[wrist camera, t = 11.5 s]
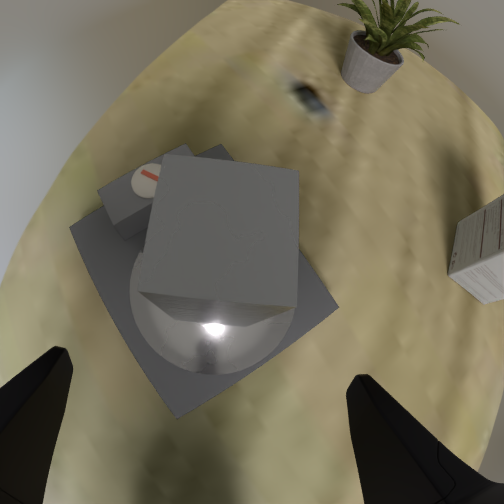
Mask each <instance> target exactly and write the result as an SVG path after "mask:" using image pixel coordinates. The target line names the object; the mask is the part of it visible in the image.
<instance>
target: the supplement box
mask: <svg viewBox="0 0 504 504" xmlns="http://www.w3.org/2000/svg"><path fill="white" fill-rule="evenodd" d="M448 276H449V277H450V278H452V279H453V280H454V281H456V282H457V283H458V284H459V285H461V286H462V287H463V288H465V289H466V290H467V291H468V292H470V293H471V294H472V295H473V296H474V297H476V298H477V299H478V300H479V301H480V302H482V303H483V304H487V303H491V302H495V301H499V300H502V299H504V194H503V195H501V196H500V197H498V198H497V199H495V200H494V201H492V202H490V203H489V204H487V205H485V206H484V207H482V208H480V209H479V210H477V211H476V212H474V213H472V214H471V215H469V216H467V217H466V218H464V219H462V220H461V221H459V222H458V224H457V229H456V235H455V240H454V246H453V251H452V256H451V261H450V266H449V270H448Z"/></svg>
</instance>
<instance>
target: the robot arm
mask: <svg viewBox="0 0 504 504" xmlns="http://www.w3.org/2000/svg"><path fill="white" fill-rule="evenodd" d="M72 374H73V365H72V362H71V359H70V356H69V353H68V351H67V349H66V348H63V347H59V346H54V347H52V348H51V349H50V350H48V351H47V352H46V353H44V354H43V355H42V356H40V357H39V358H38V359H37V360H35V361H34V362H33V363H31V364H30V365H29V366H27V367H26V368H25V369H24V370H22V371H21V372H20V373H19V374H17V375H16V376H15V377H13V378H12V379H11V380H10V381H8V382H7V383H6V384H5V385H3V386H2V387H1V388H0V504H43V499H44V493H45V488H46V483H47V478H48V474H49V469H50V465H51V461H52V456H53V452H54V449H55V445H56V441H57V437H58V434H59V430H60V427H61V423H62V420H63V416H64V413H65V408H66V403H67V398H68V393H69V388H70V383H71V379H72ZM346 399H347V408H348V417H349V427H350V435H351V440H352V445H353V449H354V454H355V459H356V463H357V468H358V473H359V478H360V483H361V488H362V493H363V499H364V504H504V484H503V483H496V482H493V481H490V480H488V479H486V478H485V477H483V476H482V475H481V474H479V473H478V472H476V471H475V470H474V469H472V468H471V467H470V466H468V465H467V464H466V463H464V462H463V461H462V460H461V459H459V458H458V457H457V456H455V455H454V454H453V453H452V452H451V451H450V450H449V449H447V448H446V447H445V446H444V445H443V444H442V443H441V442H440V441H438V439H437V438H436V437H434V436H433V435H432V434H431V433H430V432H429V431H428V430H427V429H426V428H425V427H424V426H423V425H422V424H421V423H420V422H418V421H417V420H416V419H415V418H414V417H413V416H412V415H411V414H410V413H409V412H408V411H407V410H406V409H405V408H404V407H403V406H402V405H400V404H399V403H398V402H397V401H396V400H395V399H394V398H393V397H392V396H391V395H390V394H389V393H388V392H387V391H386V390H385V389H384V388H382V387H381V386H380V385H379V384H378V383H377V382H376V381H375V380H374V379H373V378H372V377H371V376H370V375H368V374H359V375H356V376H355V377H354V379H353V381H352V382H351V384H350V386H349V387H348V389H347V392H346Z"/></svg>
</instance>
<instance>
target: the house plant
mask: <svg viewBox="0 0 504 504" xmlns="http://www.w3.org/2000/svg"><path fill="white" fill-rule="evenodd" d="M372 1H373V0H372ZM390 1H391V7H390V6H389V5H388V1H387V0H382V3H383V4H382V5H381V0H379V5H380V25H379V22H378V25H379V28H378V27H377V25H376V22H375V20H374V18H373V16H372V13H371V11H370V10H369V9H368V7H367V6H366V4H365V3H364V2H363V1H362V0H352V2H353V3H354V4H355V5H353V4H346V3H342V4H338V5H342V6H346V7H349V8H351V9H353V10H354V11H356V12H358V14H359V15H360V16H361V18H362V19H359V20H361V21H362V22H364V25H365V27H366V31H361V30H357V31H354V32H352V33H351V36H350V40H349V44H348V48H347V52H346V56H345V59H344V63H343V67H342V71H341V75H342V78H343V79H344V81H345V82H346V83H347V84H348V85H349V86H351V87H352V88H354V89H355V90H357V91H360V92H363V93H373V92H375V91H376V90H377V89H378V88H379V87H380V86H381V85H382V84H384V83H385V82H386V81H387V80H388V79H389V78H390V77H391V76H392V75H393V74H394V73H395V72H396V71H397V70H398V69H399V68H400V67H401V66H402V65H403V63H404V60H403V57H402V55H401V53H400V52H399V51H398V50H397V49H401V48H410V49H413V50H415V49H418V50H422V48H421V47H420V46H419V45H418V44H416V43H414V42H421V43H425V41H424V40H423V39H422V38H421V37H420V36H419V35H417V33H422V32H429V31H435V30H439V29H435V30H429V31H422V32H417V33H414V34H409V33H411V32H412V31H416V30H419V29H421V28H428V27H426V26H429V25H433V24H437V23H441V22H448V21H449V22H454V23H456V24H459V23H457V22H455V21H454V20H452V19H449V18H446V17H428V18H425V19H422V20H420V21H419V22H417V23H415V24H413V25H408V26H404V25H405V23H406V21H407V20H409V19H410V18H412V17H413V16H415V15H416V14H418V13H420V12H424V11H431V10H432V11H436V12H438V11H437V10H434V9H423V10H420V11H417V12H416V13H414V14H413V12H414V11H415V10H416V9H417V7H418V4H419V3H418V2H416V3H414V4H413V6H412V7H411V8H410V9H409V10H408V11H407V12H406V10H407V8H408V6H409V4H410V2H411V0H398V1H397V5H396V8H395V10H394V0H390ZM373 3H374V1H373ZM374 6H375V3H374ZM375 9H376V8H375ZM405 12H406V14H405ZM439 13H440V12H439ZM376 14H377V11H376ZM404 14H405V16H404ZM412 14H413V15H412ZM403 16H404V18H403ZM402 18H403V19H402ZM377 19H378V17H377ZM401 20H402V21H401ZM400 21H401V22H400ZM399 22H400V24H399V25H398V27H396V25H397V24H398V23H399ZM395 27H396V28H395ZM394 28H395V29H394ZM393 32H394V33H393ZM392 33H393V34H392ZM391 34H392V35H391ZM425 44H427V43H425ZM427 45H428V44H427ZM428 47H429V46H428ZM415 51H416V52H418V53H419V54H420V55H421V57H422V59H423V61H424V58H425V57H424V55H423V54H422V53H420V52H419V51H417V50H415Z"/></svg>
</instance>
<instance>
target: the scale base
mask: <svg viewBox="0 0 504 504" xmlns="http://www.w3.org/2000/svg"><path fill="white" fill-rule="evenodd" d="M165 154H169V155H181V156H192V157H202V158H212V159H221V160H229V161H234V160H233V158H232V157H231V156H230V155H229V153H228V152H227V151H226V149H225V148H224V147H223V145H222V144H220V145H218V146H215V147H213V148H211V149H209V150H207V151H205V152H203V153H200V154H198V155H196V156H194V154H193V153H192V152H191V150H190V149H189V147H188V146H187V144H183V145H181V146H179V147H177V148H175V149H173V150H171V151H169V152H167V153H165ZM163 157H164V154H163V155H161V156H159V157H157V158H155V159H153V160H151V161H149V162H147V163H145V164H143V165H142V166H140V167H138V168H136V169H134V170H132V171H130V172H129V173H127V174H125V175H123V176H121V177H120V178H118V179H116V180H114V181H113V182H111V183H109V184H107V185H106V186H104V187H102V188H101V189H99V190H97V191H98V194H99V196H100V198H101V200H102V202H103V204H104V206H102V207H100V208H99V209H97V210H96V211H94V212H92V213H91V214H89V215H88V216H86V217H84V218H83V219H81V220H80V221H78V222H77V223H75V224H73V225H72V226H70V227H69V228H70V230H71V233H72V235H73V238H74V240H75V243H76V245H77V247H78V250H79V252H80V254H81V256H82V259H83V261H84V263H85V265H86V268H87V270H88V272H89V274H90V276H91V278H92V280H93V282H94V284H95V286H96V288H97V290H98V292H99V294H100V296H101V298H102V300H103V302H104V304H105V306H106V308H107V310H108V312H109V314H110V316H111V317H112V319H113V321H114V323H115V325H116V326H117V328H118V330H119V332H120V333H121V335H122V337H123V339H124V340H125V342H126V344H127V345H128V347H129V349H130V350H131V352H132V354H133V355H134V357H135V359H136V360H137V362H138V363H139V365H140V367H141V368H142V370H143V371H144V373H145V374H146V376H147V377H148V379H149V381H150V382H151V384H152V385H153V386H154V388H155V389H156V391H157V392H158V394H159V395H160V397H161V398H162V400H163V401H164V402H165V404H166V405H167V407H168V408H169V409H170V411H171V412H172V413H173V415H174V416H175V417H176V419H178V418H180V417H181V416H183V415H185V414H187V413H188V412H190V411H192V410H193V409H195V408H197V407H198V406H200V405H202V404H203V403H205V402H206V401H208V400H210V399H211V398H213V397H215V396H216V395H218V394H219V393H221V392H222V391H224V390H226V389H227V388H229V387H230V386H232V385H233V384H235V383H236V382H238V381H239V380H241V379H242V378H244V377H245V376H247V375H248V374H250V373H251V372H253V371H254V370H256V369H257V368H259V367H260V366H262V365H263V364H264V363H266V362H267V361H269V360H270V359H272V358H273V357H274V356H276V355H277V354H279V353H280V352H281V351H283V350H284V349H285V348H287V347H288V346H290V345H291V344H292V343H294V342H295V341H296V340H298V339H299V338H300V337H302V336H303V335H304V334H306V333H307V332H308V331H310V330H311V329H312V328H314V327H315V326H316V325H317V324H319V323H320V322H321V321H323V320H324V319H325V318H326V317H328V316H329V315H330V314H331V313H333V312H334V311H335V310H336V309H338V308H339V306H338V305H337V303H336V302H335V300H334V299H333V297H332V296H331V294H330V293H329V291H328V290H327V289H326V287H325V286H324V284H323V283H322V281H321V280H320V278H319V277H318V275H317V274H316V273H315V271H314V270H313V268H312V267H311V265H310V264H309V263H308V261H307V260H306V258H305V257H304V255H303V254H302V253H301V251H300V250H299V252H298V289H297V307H296V308H295V311H294V315H293V319H292V321H291V324H290V327H289V328H288V330H287V332H286V334H285V336H284V337H283V339H282V340H281V342H280V343H279V344H278V346H277V347H276V348H275V349H274V350H273V351H272V352H271V353H270V354H269V355H267V356H266V357H265V358H264V359H262V360H261V361H259V362H258V363H256V364H254V365H252V366H250V367H248V368H246V369H243V370H241V371H237V372H233V373H228V374H220V375H207V374H200V373H195V372H191V371H188V370H185V369H182V368H180V367H178V366H176V365H174V364H172V363H170V362H169V361H167V360H166V359H164V358H163V357H162V356H160V355H159V354H158V353H157V352H156V351H155V350H154V349H153V348H152V347H151V346H150V345H149V344H148V343H147V341H146V340H145V338H144V337H143V335H142V334H141V332H140V330H139V328H138V326H137V324H136V322H135V319H134V316H133V313H132V309H131V304H130V292H129V291H130V279H131V274H132V269H133V266H134V264H135V261H136V258H137V256H138V254H139V252H140V250H141V249H142V247H143V246H144V245H145V240H146V235H147V229H148V224H149V219H150V214H151V209H152V204H153V200H154V195H155V190H156V186H157V182H158V177H159V173H160V169H161V165H162V161H163Z"/></svg>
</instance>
